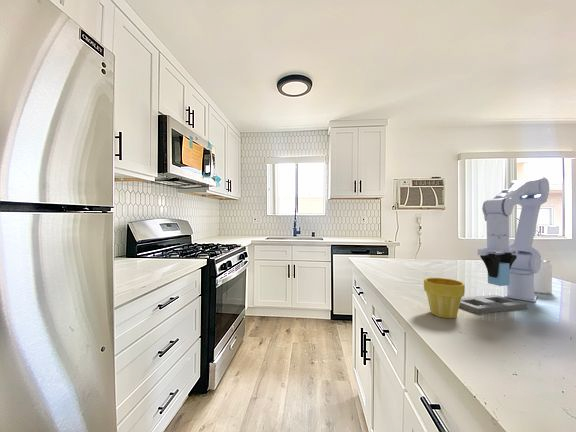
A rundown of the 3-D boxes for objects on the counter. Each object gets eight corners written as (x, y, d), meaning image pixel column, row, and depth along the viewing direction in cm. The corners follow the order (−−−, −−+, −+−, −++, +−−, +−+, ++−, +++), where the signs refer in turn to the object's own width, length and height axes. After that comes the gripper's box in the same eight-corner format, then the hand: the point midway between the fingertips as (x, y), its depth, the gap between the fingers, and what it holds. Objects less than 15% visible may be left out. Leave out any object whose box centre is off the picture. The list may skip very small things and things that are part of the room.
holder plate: (450, 303, 87) (449, 299, 87) (494, 299, 91) (494, 294, 91) (478, 314, 77) (478, 308, 77) (527, 308, 82) (526, 303, 82)
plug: (487, 283, 87) (487, 262, 87) (497, 282, 88) (496, 261, 88) (500, 286, 83) (499, 264, 83) (509, 285, 84) (509, 263, 84)
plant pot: (467, 313, 78) (467, 280, 78) (461, 324, 70) (461, 287, 70) (429, 306, 84) (428, 275, 85) (419, 314, 77) (419, 281, 77)
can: (556, 294, 96) (556, 262, 96) (535, 293, 98) (535, 261, 98) (544, 290, 102) (544, 259, 102) (524, 288, 104) (524, 258, 104)
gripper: (492, 236, 80) (493, 280, 80) (528, 235, 84) (528, 277, 83) (471, 235, 87) (472, 276, 87) (505, 234, 90) (505, 273, 90)
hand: (498, 276), depth 86 cm, fingers closed on plug, 4 cm apart
